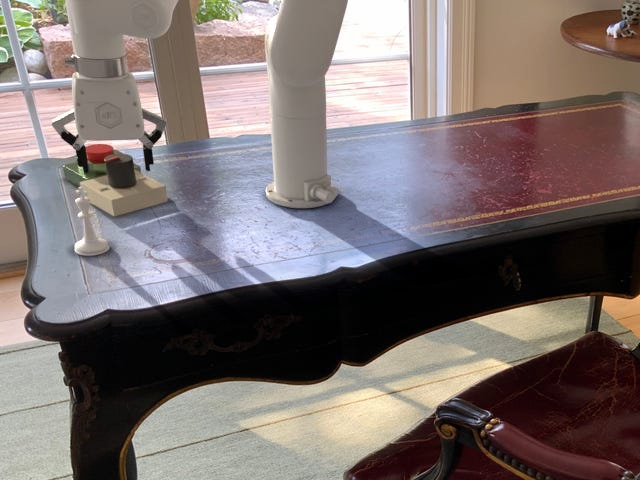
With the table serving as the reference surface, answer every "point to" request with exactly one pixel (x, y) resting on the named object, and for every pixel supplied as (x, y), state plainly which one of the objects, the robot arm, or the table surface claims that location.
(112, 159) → the knob
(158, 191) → the panel
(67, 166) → the switch box
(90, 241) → the chess piece
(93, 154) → the power button
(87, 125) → the robot arm
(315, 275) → the table surface
